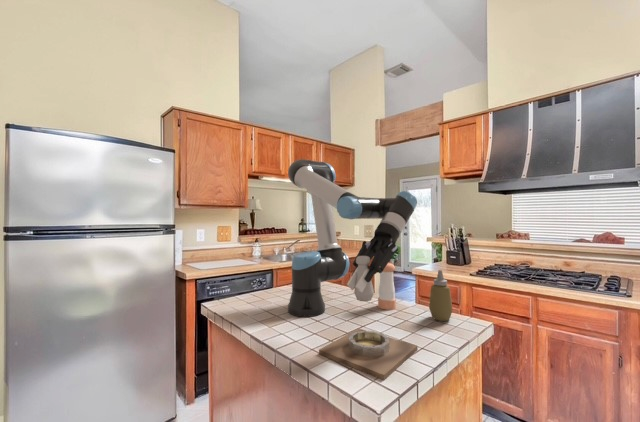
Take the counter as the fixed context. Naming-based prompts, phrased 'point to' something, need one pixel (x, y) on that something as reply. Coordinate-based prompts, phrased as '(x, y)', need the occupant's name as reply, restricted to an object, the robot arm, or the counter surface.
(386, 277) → the pepper shaker
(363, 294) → the salt shaker
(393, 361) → the collar board
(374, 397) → the counter surface
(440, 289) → the squeeze bottle
